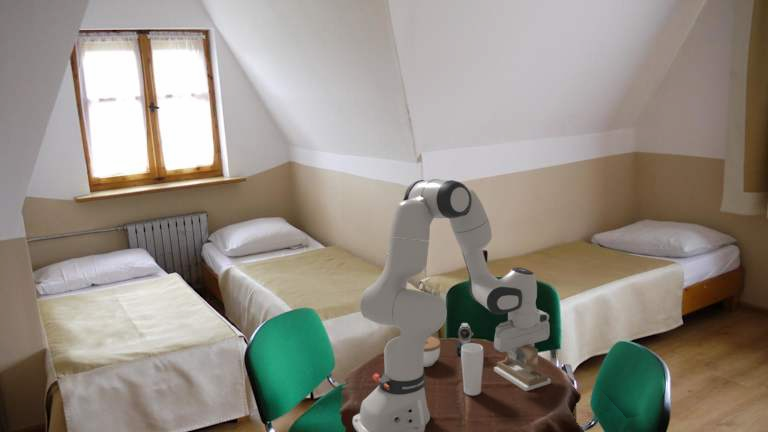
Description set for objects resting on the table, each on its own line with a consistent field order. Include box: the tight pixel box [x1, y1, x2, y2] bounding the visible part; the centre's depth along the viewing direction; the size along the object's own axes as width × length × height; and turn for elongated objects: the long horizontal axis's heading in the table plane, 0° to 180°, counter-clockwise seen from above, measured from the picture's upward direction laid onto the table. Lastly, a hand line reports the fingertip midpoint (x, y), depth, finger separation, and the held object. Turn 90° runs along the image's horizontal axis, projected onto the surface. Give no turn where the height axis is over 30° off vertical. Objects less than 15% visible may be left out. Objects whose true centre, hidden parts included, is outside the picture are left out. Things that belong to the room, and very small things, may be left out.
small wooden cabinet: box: [493, 356, 552, 392], centre depth 198 cm, size 10×16×4 cm, turn 27°
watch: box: [456, 322, 474, 357], centre depth 216 cm, size 6×8×11 cm
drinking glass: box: [460, 342, 484, 397], centre depth 188 cm, size 7×7×15 cm
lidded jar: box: [423, 335, 441, 368], centre depth 210 cm, size 11×11×9 cm
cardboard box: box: [506, 345, 539, 372], centre depth 197 cm, size 4×11×7 cm, turn 28°
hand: (521, 357), depth 197 cm, fingers closed on cardboard box, 4 cm apart
